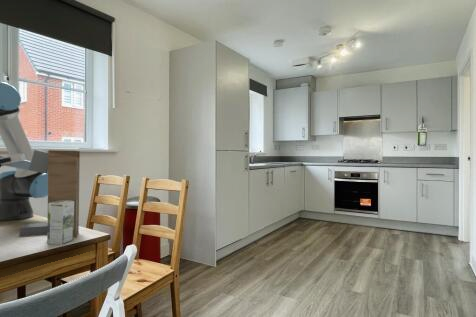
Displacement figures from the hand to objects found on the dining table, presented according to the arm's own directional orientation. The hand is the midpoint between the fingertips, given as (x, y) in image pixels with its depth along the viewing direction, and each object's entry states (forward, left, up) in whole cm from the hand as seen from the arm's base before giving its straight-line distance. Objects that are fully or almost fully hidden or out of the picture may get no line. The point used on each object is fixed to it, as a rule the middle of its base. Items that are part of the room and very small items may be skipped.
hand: (23, 157), depth 108 cm
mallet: (0, 0, -4) cm, 4 cm away
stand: (+5, +14, -30) cm, 34 cm away
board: (-4, +6, -30) cm, 31 cm away
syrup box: (+14, +15, -30) cm, 36 cm away
